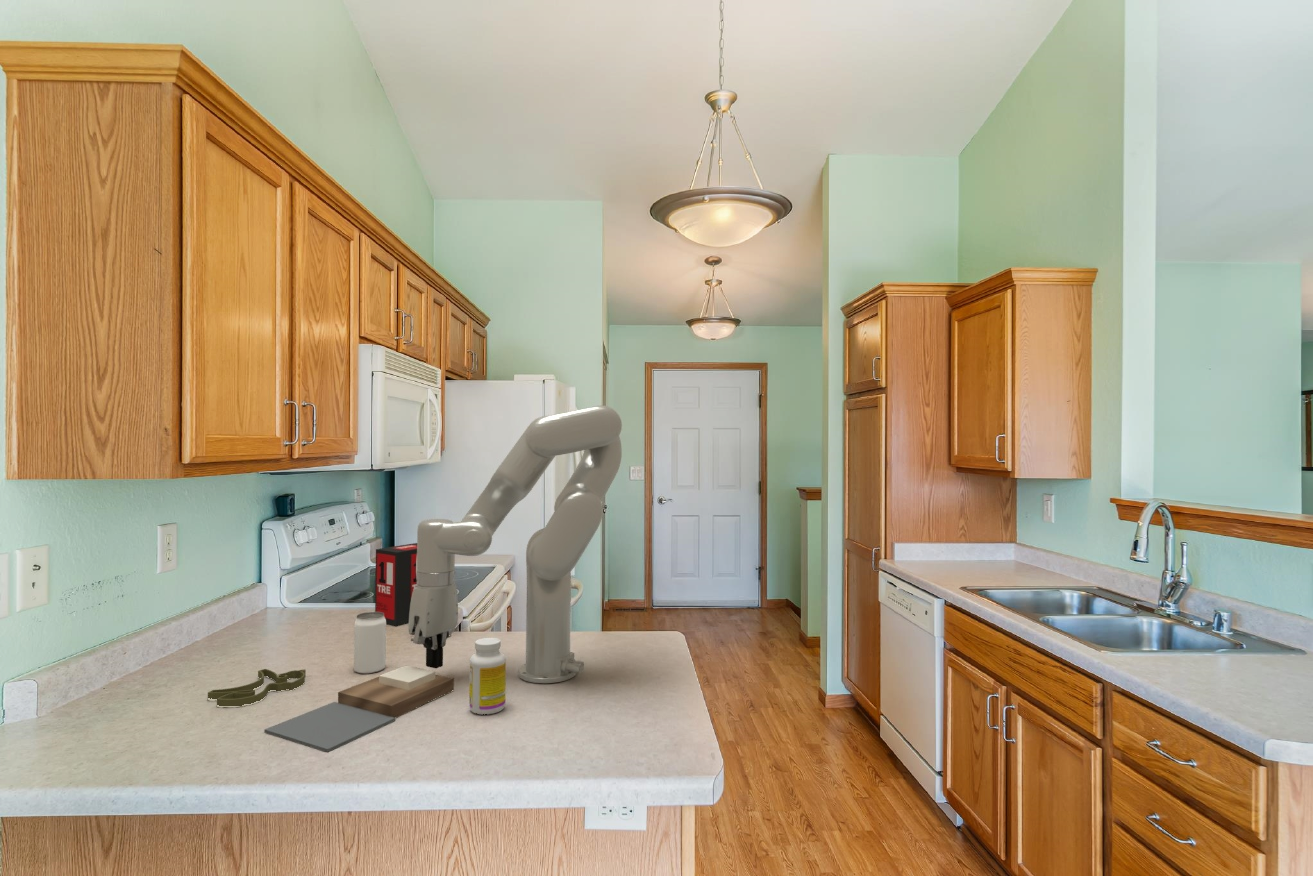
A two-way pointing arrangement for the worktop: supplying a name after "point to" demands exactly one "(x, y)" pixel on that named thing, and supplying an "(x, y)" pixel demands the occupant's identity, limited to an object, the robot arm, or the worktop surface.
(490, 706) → the supplement bottle
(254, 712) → the worktop surface
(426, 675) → the tile
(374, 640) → the can
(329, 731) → the mat
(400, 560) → the cleaning product box
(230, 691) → the cookie cutter
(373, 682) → the brown wooden flat block
